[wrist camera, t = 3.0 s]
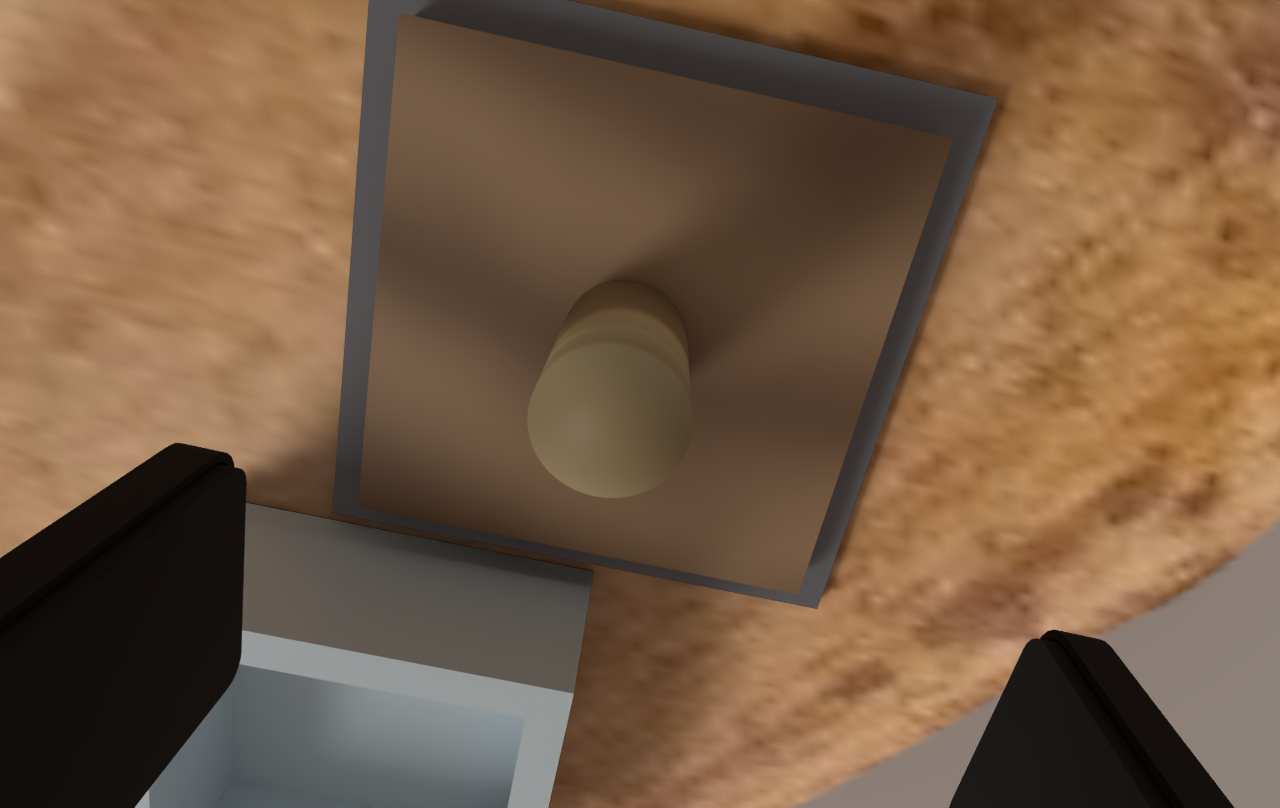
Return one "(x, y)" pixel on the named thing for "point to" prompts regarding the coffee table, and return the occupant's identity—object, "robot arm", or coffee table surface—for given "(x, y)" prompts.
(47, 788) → the robot arm
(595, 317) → the lid
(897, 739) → the coffee table surface
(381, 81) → the mat
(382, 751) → the grey square box
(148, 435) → the coffee table surface
